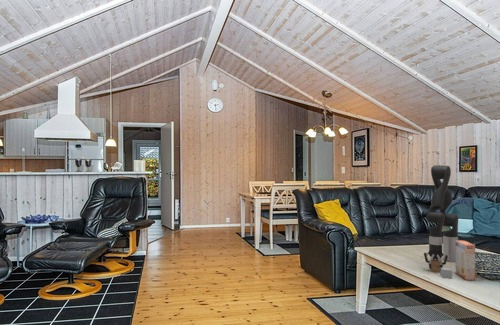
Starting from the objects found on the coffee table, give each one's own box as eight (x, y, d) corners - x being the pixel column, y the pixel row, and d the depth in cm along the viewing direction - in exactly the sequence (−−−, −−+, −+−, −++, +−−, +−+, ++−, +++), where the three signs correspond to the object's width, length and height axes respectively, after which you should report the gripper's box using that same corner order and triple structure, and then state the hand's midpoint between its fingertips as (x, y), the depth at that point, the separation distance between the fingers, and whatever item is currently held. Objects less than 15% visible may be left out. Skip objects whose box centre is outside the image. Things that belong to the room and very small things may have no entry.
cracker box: (475, 280, 208) (475, 245, 208) (464, 280, 209) (464, 244, 209) (465, 273, 222) (465, 240, 222) (455, 273, 223) (455, 239, 223)
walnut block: (431, 269, 230) (431, 259, 230) (440, 271, 228) (440, 260, 228) (431, 271, 226) (431, 260, 226) (440, 273, 223) (440, 261, 223)
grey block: (440, 275, 218) (440, 267, 218) (449, 276, 217) (449, 268, 217) (442, 278, 213) (442, 269, 213) (452, 278, 212) (452, 270, 212)
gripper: (448, 243, 227) (448, 270, 226) (423, 241, 234) (423, 267, 233) (448, 245, 220) (448, 273, 220) (422, 243, 227) (422, 269, 227)
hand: (435, 269), depth 227 cm, fingers closed on walnut block, 5 cm apart
